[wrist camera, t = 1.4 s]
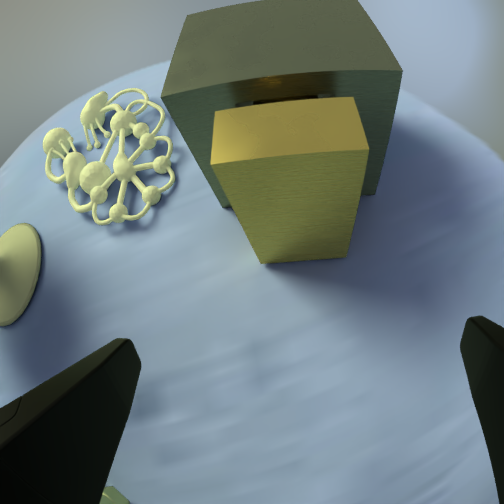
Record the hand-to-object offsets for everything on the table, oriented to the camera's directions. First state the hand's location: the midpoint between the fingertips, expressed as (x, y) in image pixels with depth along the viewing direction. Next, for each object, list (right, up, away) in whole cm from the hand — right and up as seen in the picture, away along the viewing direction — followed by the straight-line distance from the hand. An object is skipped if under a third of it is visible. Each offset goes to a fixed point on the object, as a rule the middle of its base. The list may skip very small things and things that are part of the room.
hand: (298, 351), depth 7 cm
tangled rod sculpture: (-16, +13, +24) cm, 31 cm away
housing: (+2, +11, +18) cm, 22 cm away
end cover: (+2, +7, +17) cm, 18 cm away
